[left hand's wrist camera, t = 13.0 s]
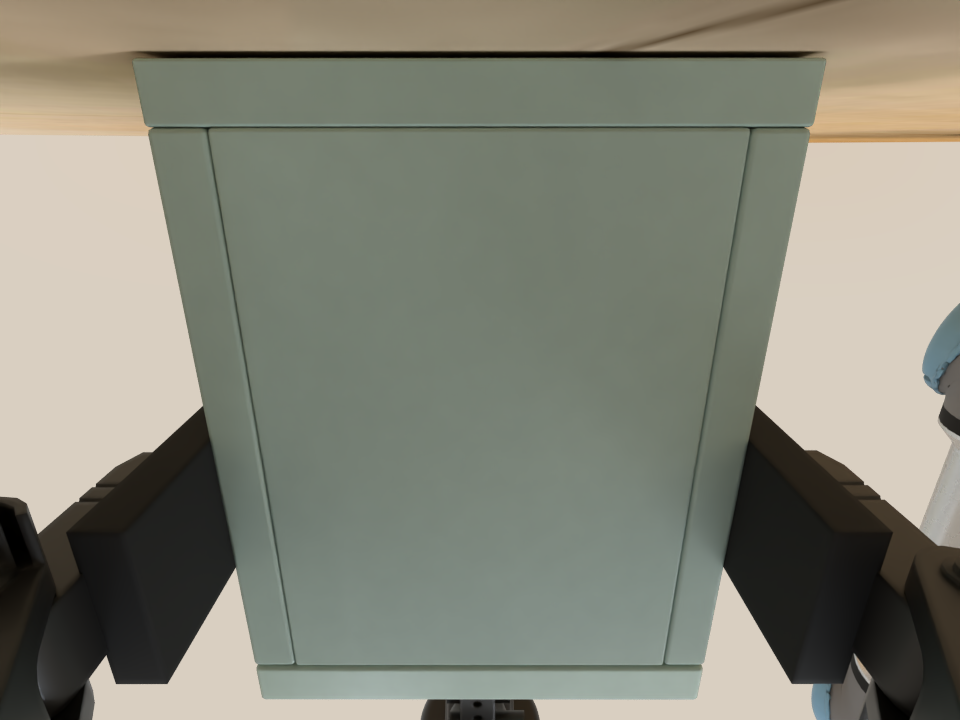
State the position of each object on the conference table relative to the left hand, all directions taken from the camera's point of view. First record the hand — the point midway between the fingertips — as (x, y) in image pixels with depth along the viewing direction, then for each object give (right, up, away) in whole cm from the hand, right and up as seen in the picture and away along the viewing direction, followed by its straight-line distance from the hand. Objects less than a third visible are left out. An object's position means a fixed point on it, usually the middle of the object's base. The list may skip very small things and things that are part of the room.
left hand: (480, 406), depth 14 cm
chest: (0, +8, +2) cm, 8 cm away
